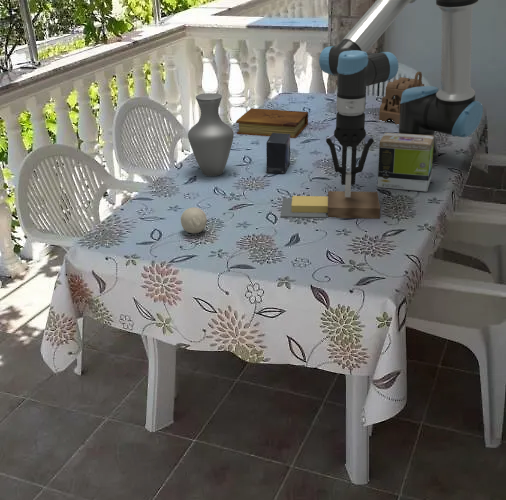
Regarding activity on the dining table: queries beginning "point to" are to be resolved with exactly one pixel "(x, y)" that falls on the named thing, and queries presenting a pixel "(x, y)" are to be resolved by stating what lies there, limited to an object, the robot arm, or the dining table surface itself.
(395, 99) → the wooden puzzle
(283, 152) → the small box
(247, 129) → the diary
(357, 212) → the brown flat block
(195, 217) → the baseball
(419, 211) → the dining table surface
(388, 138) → the tea box
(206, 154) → the vase
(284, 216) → the mat
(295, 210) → the yellow block
